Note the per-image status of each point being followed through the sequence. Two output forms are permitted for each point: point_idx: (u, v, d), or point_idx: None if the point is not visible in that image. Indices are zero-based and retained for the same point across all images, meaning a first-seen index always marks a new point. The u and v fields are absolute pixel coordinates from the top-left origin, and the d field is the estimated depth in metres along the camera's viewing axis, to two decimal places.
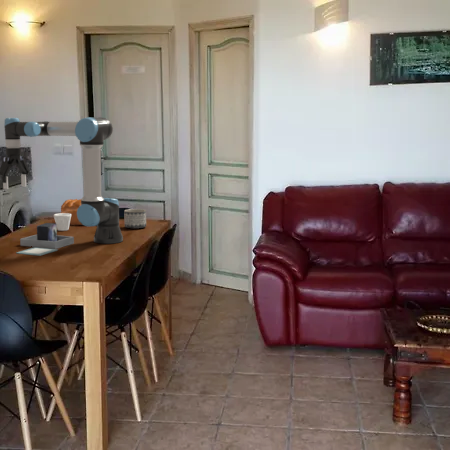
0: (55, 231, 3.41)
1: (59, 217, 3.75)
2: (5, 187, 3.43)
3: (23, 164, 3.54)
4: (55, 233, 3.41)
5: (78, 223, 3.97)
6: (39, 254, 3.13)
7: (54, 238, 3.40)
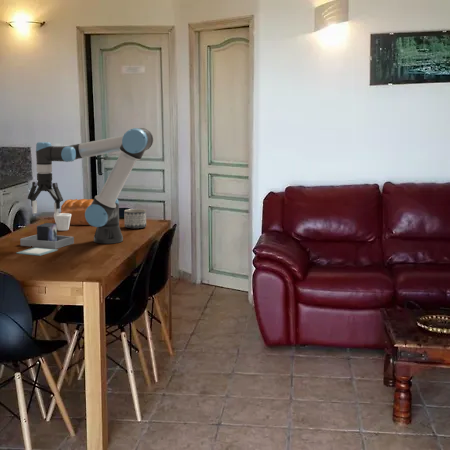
0: (55, 231, 3.41)
1: (59, 217, 3.75)
2: None
3: None
4: (55, 233, 3.41)
5: (78, 223, 3.97)
6: (39, 254, 3.13)
7: (54, 238, 3.40)
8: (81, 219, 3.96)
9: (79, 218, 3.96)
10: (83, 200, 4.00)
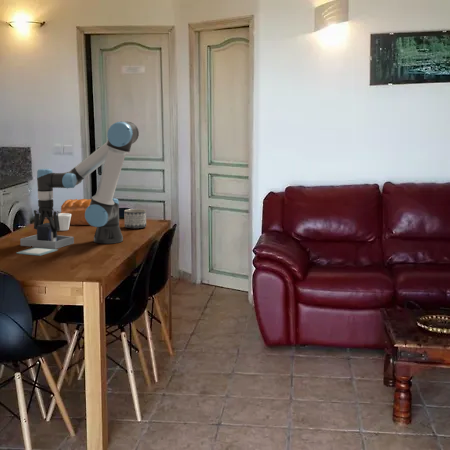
0: None
1: (59, 217, 3.75)
2: None
3: None
4: None
5: (78, 223, 3.97)
6: (39, 254, 3.13)
7: None
8: (81, 219, 3.96)
9: (79, 218, 3.96)
10: (83, 200, 4.00)
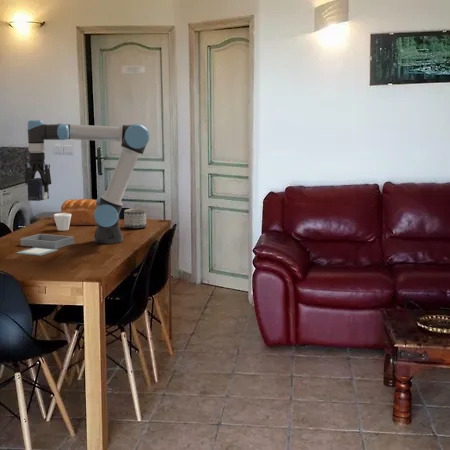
0: None
1: (59, 217, 3.75)
2: None
3: None
4: None
5: (79, 223, 3.97)
6: (39, 254, 3.13)
7: None
8: (81, 219, 3.96)
9: (80, 218, 3.96)
10: (83, 200, 4.00)
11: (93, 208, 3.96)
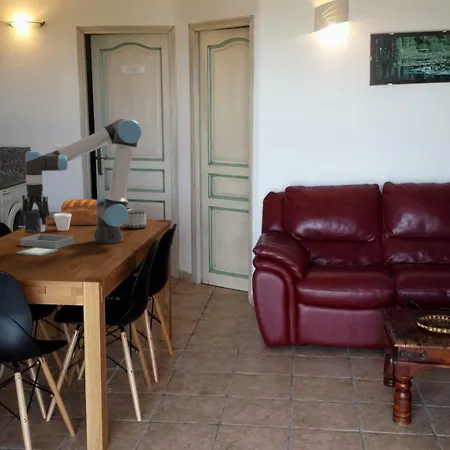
0: None
1: (59, 217, 3.75)
2: None
3: None
4: None
5: (79, 223, 3.97)
6: (39, 254, 3.13)
7: None
8: (82, 219, 3.96)
9: (80, 218, 3.96)
10: (83, 200, 4.00)
11: (93, 208, 3.96)
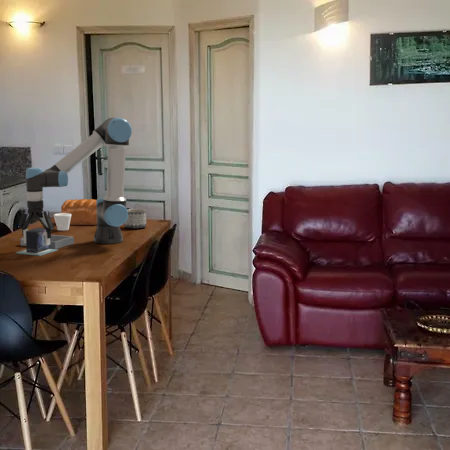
0: None
1: (59, 217, 3.75)
2: None
3: None
4: None
5: (79, 223, 3.97)
6: (39, 254, 3.13)
7: (45, 244, 3.21)
8: (82, 219, 3.96)
9: (80, 218, 3.96)
10: (83, 200, 4.00)
11: (93, 208, 3.96)
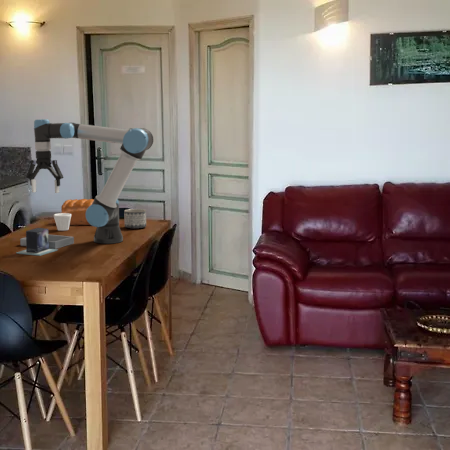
0: (46, 237, 3.22)
1: (59, 217, 3.75)
2: None
3: None
4: (46, 239, 3.22)
5: (79, 223, 3.97)
6: (39, 254, 3.13)
7: (45, 244, 3.21)
8: (82, 219, 3.96)
9: (81, 218, 3.96)
10: (83, 200, 4.00)
11: None
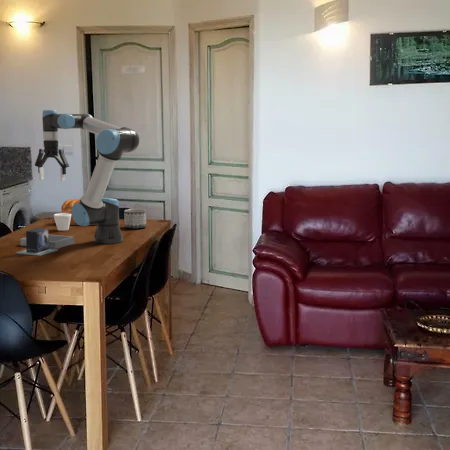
0: (46, 237, 3.22)
1: (59, 217, 3.75)
2: None
3: None
4: (46, 239, 3.22)
5: None
6: (39, 254, 3.13)
7: (45, 244, 3.21)
8: None
9: None
10: None
11: None
